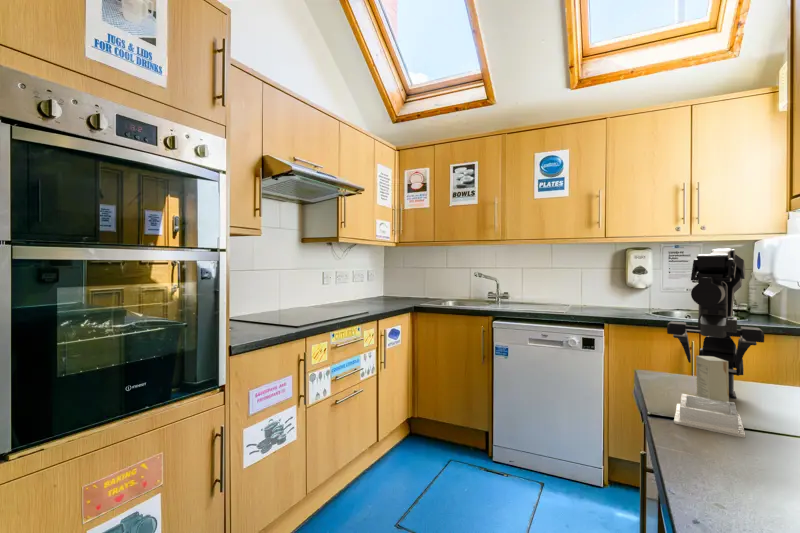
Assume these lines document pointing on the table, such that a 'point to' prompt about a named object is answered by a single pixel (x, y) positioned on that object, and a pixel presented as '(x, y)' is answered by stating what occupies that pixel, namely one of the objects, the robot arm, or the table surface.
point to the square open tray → (709, 415)
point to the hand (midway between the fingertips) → (712, 365)
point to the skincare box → (712, 378)
